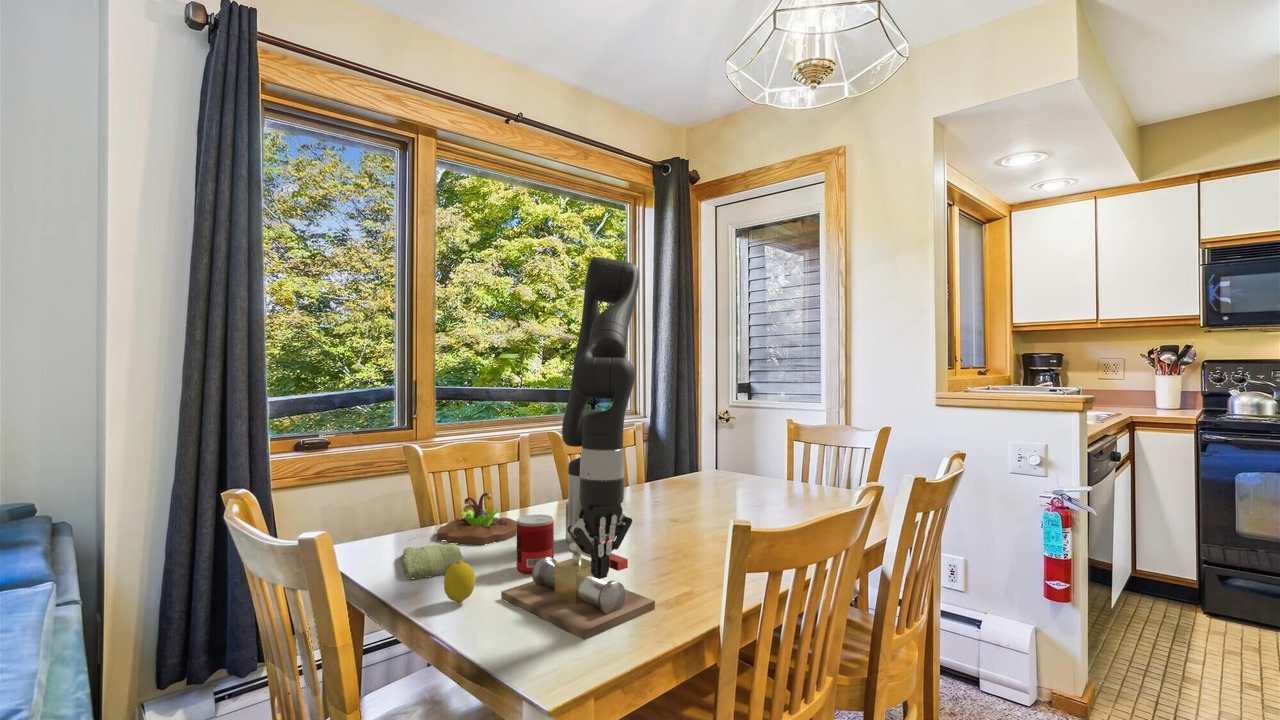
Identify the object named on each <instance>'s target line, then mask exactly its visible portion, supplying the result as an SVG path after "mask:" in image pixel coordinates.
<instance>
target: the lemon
mask: <svg viewBox="0 0 1280 720" xmlns="http://www.w3.org/2000/svg"><path fill="white" fill-rule="evenodd" d="M475 585H476V578H475V573H474V570H473V568H472V566H471V565H470V564H469V563H467V562H462V561H461V560H459V561H457V562H456V563H454V564H453V565H451V566H450V567H449V568H448V570H447V572H446V574H445V575H444V580H443V589H444V593H445V595H446V596H447V598H448V599H450V600H451V601H453V602H455V603H457V605H458V604H462V602H464V601H465V600H467V599H468V598H469V597H471V595H472V594H473V591H474V590H475Z"/></svg>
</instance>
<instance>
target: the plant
mask: <svg viewBox="0 0 1280 720" xmlns="http://www.w3.org/2000/svg"><path fill="white" fill-rule="evenodd" d="M492 496H493V495H491V494H490V493H489V492H484V493H482V494H481V496H480V498H479V501H478V502H477V501H476V500H475V499H474V498H473V497H466V498H465V499H464V500H463V503H464V506H463V508H462V510H463V512H461V511H460V514H461V515H462V516H463V518H456V519H454V520H451V521H449V522H448V523H446V524H444V525H442V526H440V527H439V528H438V529H437V531H436V532H437V533H436V540H437V539H438V540H446V541H447V542H448V543H458V544H457V545H461V544H472V545H471V546H486V545H485V544H487V545H491V544H494V543H493V542H496V543H501V542H505V541H507V540H510V539H512V538H514V537H517V520H514V519H512V518H509V517H495V516H496V515H497V514H498V513H499V511H500V509H495V510H493V511H492V512H490V513H489V509H488V508H484V509H483V505H484V503H483V501H484V497H485V498H486V500H488V501H491V500H492V498H493V497H492ZM469 502H472V503H469ZM470 507H471V508H472V509H473V510H472V509H470ZM467 512H468V513H467ZM500 541H501V542H500ZM447 542H446V543H447ZM448 543H447V544H448ZM490 543H491V544H490Z"/></svg>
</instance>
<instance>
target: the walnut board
mask: <svg viewBox="0 0 1280 720" xmlns="http://www.w3.org/2000/svg"><path fill="white" fill-rule="evenodd" d="M500 592H501V595H500V596H501V597H500V599H501V600H502V599H503V600H502V601H504V600H505V601H504V602H506V601H507V602H506V603H508V604H510V605H513V606H514V607H515V608H516V607H517V608H518V607H519V608H518V609H520V608H521V610H522V609H523V610H522V611H524V610H525V611H524V612H526V611H527V612H526V613H528V612H529V614H530V613H531V615H532V614H533V615H532V616H534V615H535V617H536V616H537V618H539V619H541V620H543V621H545V622H547V623H548V624H550V625H552V626H555V627H556V628H559V629H561V630H563V631H566V632H567V633H569V634H571V635H573V636H575V637H577V638H580V639H581V640H584V641H586V640H589V639H590V638H592V637H596V636H597V635H599V634H601V633H604V632H606V631H608V630H610V629H613V628H615V627H618V626H619V625H622V624H624V623H627V622H629V621H631V620H633V619H635V618H638V617H640V616H642V615H645V614H647V613H649V612H651V611H653V610H655V609H656V601H655V599H652V598H649V597H646V596H643V595H641V594H638V593H636V592H632V591H630V590H628V589H625V592H626V597H625V602H624V605H623V607H622V608H621V609H619V610H617V611H615V612H612V613H610V614H604V613H602V612H601V611H600V609H599V607H597V606H595V605H592V604H590V603H588V602H585V601H584V602H582V603H579V604H577V605H575V604H573V603H570V602H568V601H566V600H563V599H561V598H559V597H556V596H555V589H554V588H552V587H550V586H547V585H542V586H539V585H537V584H535V583H534V581H533V580H532V581H529V582H526V583H522V584H521V585H517V586H514V587H511V588H508V589H504V590H501V591H500Z"/></svg>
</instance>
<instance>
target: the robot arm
mask: <svg viewBox="0 0 1280 720" xmlns="http://www.w3.org/2000/svg"><path fill="white" fill-rule="evenodd" d="M639 283H640V272H639V268H638V266H637V265H636V264H634V263H632V262H628V261H625V260H624V261H623V260H618V259H614V258H607V257H601V256H595V257H594V258H592V259H591V260H590V261H589V264H588V267H587V270H586V276H585V284H584V293H583V294H584V295H583V296H584V297H583V304H582V305H583V306H582V316H581V323H580V329H579V333H578V340H577V344H576V348H575V349H576V350H575V353H574V354H575V355H574V360H573V361H574V362H573V366H572V367H573V368H572V374H571V375H572V376H571V385H570V391H569V394H568V395H569V396H568V400H567V404H566V407H565V411H564V415H563V419H562V428H561V436H562V440H563V442H564V444H565V445H566V446H568V447H573V448H574V447H577V448H578V447H581V454H580V457H577V458H574V459H573V460H571V461H570V462H569V463H568V467H567V470H568V471H567V473H568V474H567V476H568V477H567V478H568V479H567V481H568V482H567V483H568V484H567V485H568V489H567V490H568V492H567V493H568V494H567V495H568V498H567V499H568V500H567V502H566V503H565V541H567V542H568V544H570V543H573V542H576V544H577V545H578V547H579V548H580V549H581V551H582V552H584V553H587V554H589V555H591V558H590V561H591V573H592V574H593V576H594V577H595V578H597V579H600V580H603V579H604V578H607V577H608V574H609V571H610V568H609V555H610V554H611V553H612V551H615V550H616V551H617V550H619V549H620V547H621V544H622V543H623V541H624V539H625V537H626V535H627V533H628V531H629V529H630V527H631V525H632V523H633V519H632V517H629V516H626V515H625V514H624V513H623V507H622V503H623V502H624V495H625V494H624V493H625V492H624V491H625V490H624V489H625V488H624V487H625V456H624V424H625V417H626V411H627V407H628V403H629V400H630V396H631V394H632V390H633V388H634V384H635V379H636V371H635V368H634V366H633V364H632V362H631V361H630V360H629V359H627V358H625V357H626V354H627V345H628V343H627V342H628V331H629V328H630V327H629V326H630V322H631V318H632V315H633V312H634V308H635V304H636V300H637V299H636V298H637V294H638V290H639ZM599 302H601V303H607V304H612V305H610V306H608V307H607V308H606V309H604V310H603V311H601V312H600V306H599V305H600V304H599ZM592 399H605V400H606V399H608V400H609V399H612V401H613V402H612V404H611V406H610V407H609V408H607V409H604V410H601V409H585V408H586V406H587V405H588V403H589V402H590V401H591V400H592Z"/></svg>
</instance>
